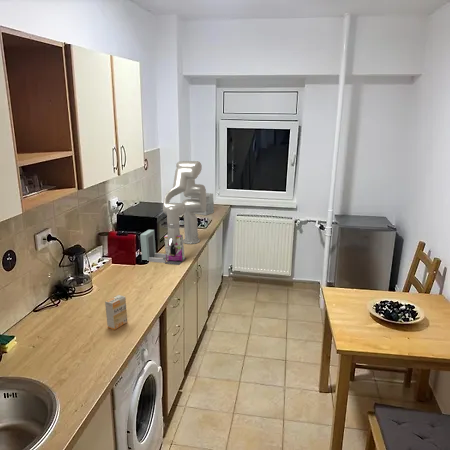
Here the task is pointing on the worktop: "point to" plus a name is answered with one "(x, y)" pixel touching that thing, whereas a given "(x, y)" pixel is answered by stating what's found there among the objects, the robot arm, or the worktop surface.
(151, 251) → the dispenser
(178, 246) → the candy bar box
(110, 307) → the supplement box
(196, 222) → the robot arm
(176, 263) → the mat
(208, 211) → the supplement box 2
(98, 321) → the worktop surface
